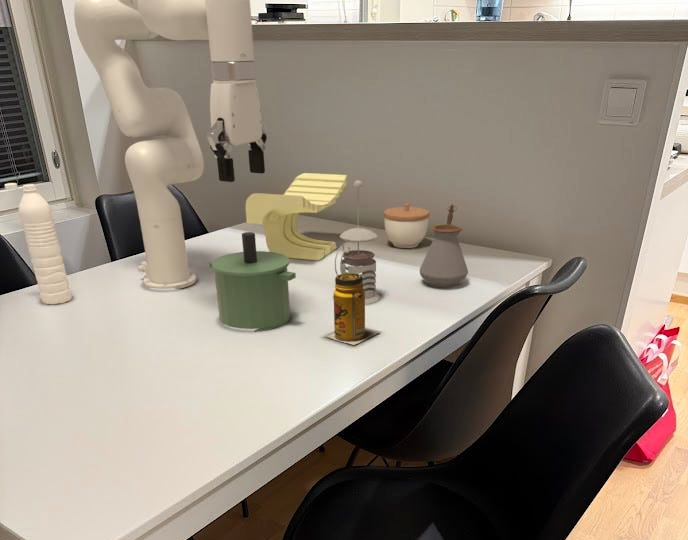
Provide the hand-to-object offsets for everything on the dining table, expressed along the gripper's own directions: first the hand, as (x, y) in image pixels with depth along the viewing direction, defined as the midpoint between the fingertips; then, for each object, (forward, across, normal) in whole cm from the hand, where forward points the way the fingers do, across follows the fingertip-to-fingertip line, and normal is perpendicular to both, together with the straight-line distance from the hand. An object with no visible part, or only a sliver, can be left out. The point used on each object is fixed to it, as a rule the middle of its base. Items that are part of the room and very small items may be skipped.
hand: (242, 176), depth 129 cm
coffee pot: (+28, -45, +25) cm, 59 cm away
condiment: (+28, -1, +23) cm, 37 cm away
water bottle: (+28, +11, -49) cm, 58 cm away
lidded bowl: (+28, -68, +4) cm, 74 cm away
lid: (+17, 0, 0) cm, 17 cm away
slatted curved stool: (+28, -49, -19) cm, 60 cm away
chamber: (+28, 0, 0) cm, 28 cm away
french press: (+28, -21, +13) cm, 38 cm away
